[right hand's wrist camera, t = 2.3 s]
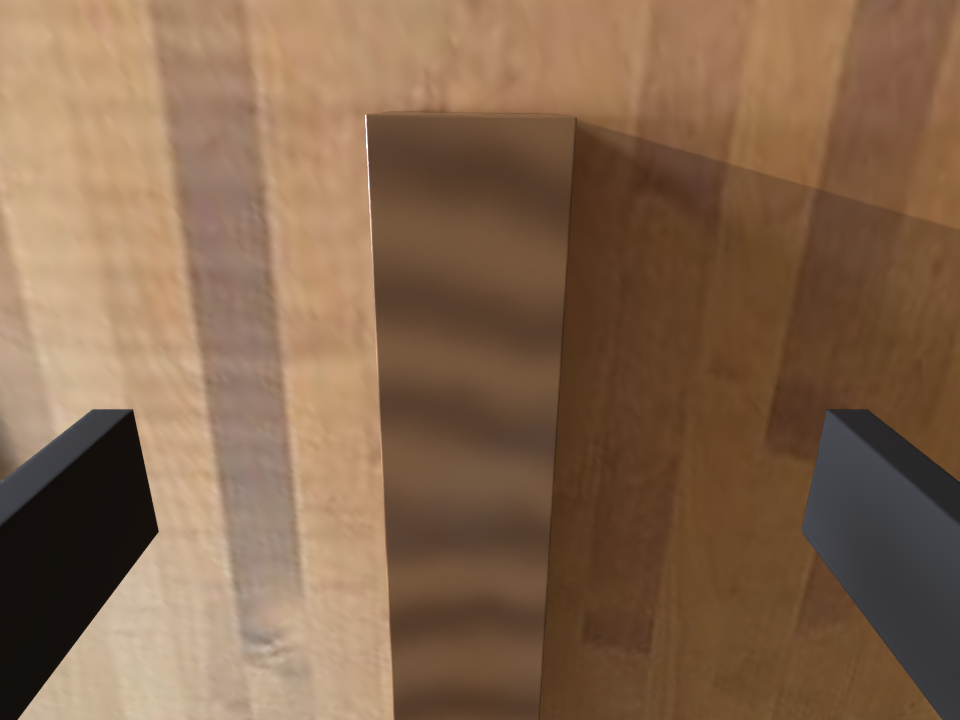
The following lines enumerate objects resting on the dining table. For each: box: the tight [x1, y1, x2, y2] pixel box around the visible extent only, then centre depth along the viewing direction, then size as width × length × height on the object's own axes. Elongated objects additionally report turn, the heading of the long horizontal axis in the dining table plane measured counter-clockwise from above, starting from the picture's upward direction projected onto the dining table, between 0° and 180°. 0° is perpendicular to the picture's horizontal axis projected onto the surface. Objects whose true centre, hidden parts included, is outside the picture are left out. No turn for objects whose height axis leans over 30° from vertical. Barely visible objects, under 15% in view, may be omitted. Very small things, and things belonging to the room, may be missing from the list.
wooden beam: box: [365, 112, 577, 720], centre depth 43 cm, size 66×9×7 cm, turn 179°
